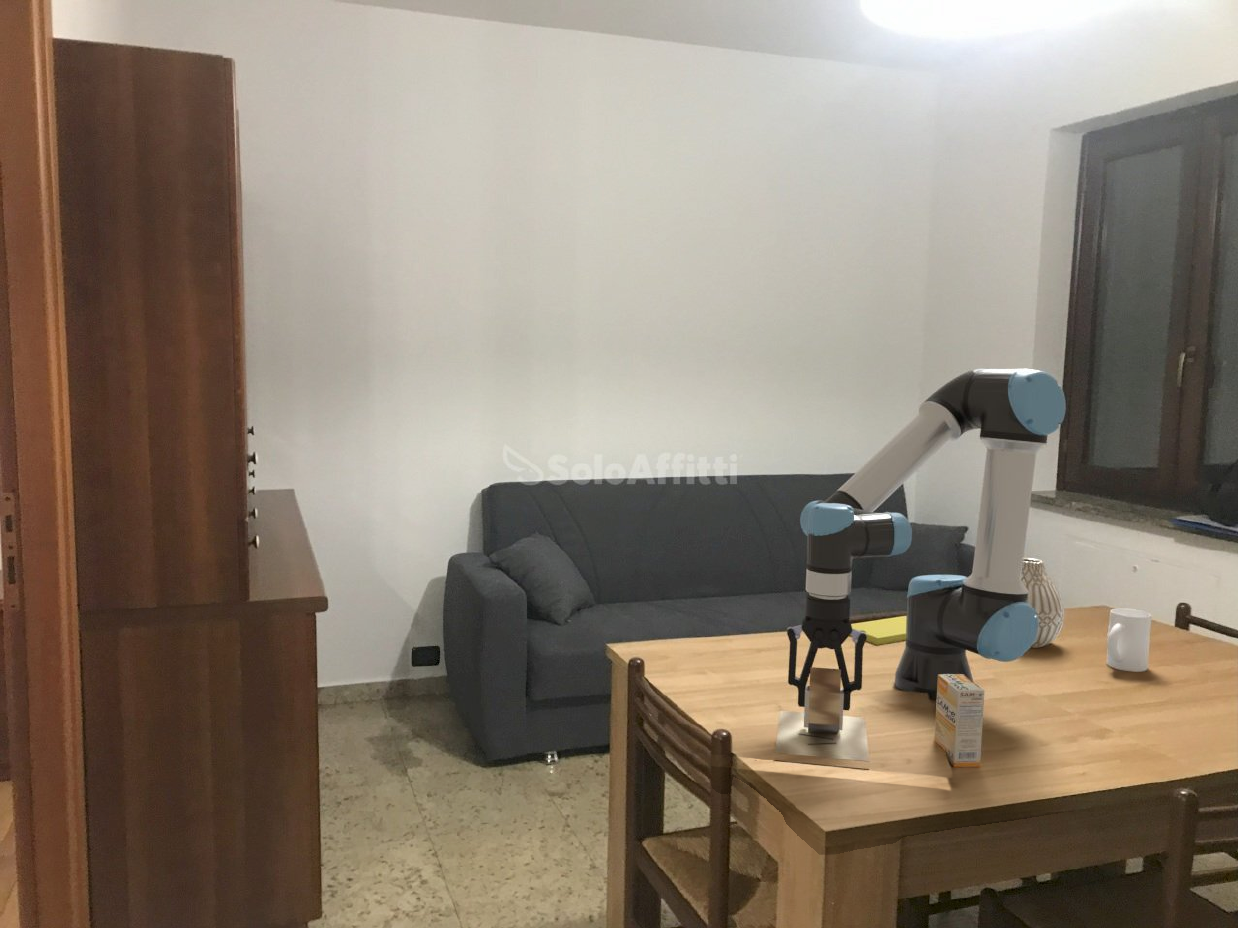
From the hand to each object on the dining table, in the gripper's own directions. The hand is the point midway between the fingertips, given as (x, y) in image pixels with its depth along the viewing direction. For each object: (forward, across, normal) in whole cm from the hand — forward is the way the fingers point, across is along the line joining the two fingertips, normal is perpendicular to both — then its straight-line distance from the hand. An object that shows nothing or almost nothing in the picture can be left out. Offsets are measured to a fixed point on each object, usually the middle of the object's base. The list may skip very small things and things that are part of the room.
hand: (822, 725), depth 169 cm
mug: (+2, -65, -58) cm, 87 cm away
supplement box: (+3, -22, +2) cm, 22 cm away
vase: (+2, -48, -73) cm, 87 cm away
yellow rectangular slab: (+3, -18, -75) cm, 77 cm away
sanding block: (-1, 0, +4) cm, 4 cm away
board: (+3, 0, +1) cm, 3 cm away
